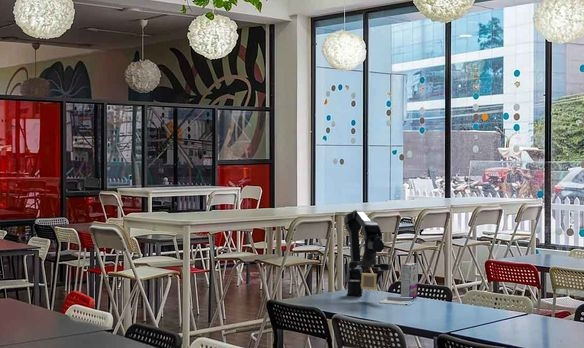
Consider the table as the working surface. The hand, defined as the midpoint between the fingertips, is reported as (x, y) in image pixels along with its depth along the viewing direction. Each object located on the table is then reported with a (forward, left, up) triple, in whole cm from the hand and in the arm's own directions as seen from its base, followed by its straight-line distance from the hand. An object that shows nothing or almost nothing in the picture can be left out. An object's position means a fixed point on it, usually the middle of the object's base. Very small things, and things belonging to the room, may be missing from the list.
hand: (369, 284), depth 401 cm
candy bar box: (+14, +23, -8) cm, 28 cm away
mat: (+13, +3, -8) cm, 15 cm away
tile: (0, 0, -2) cm, 2 cm away
